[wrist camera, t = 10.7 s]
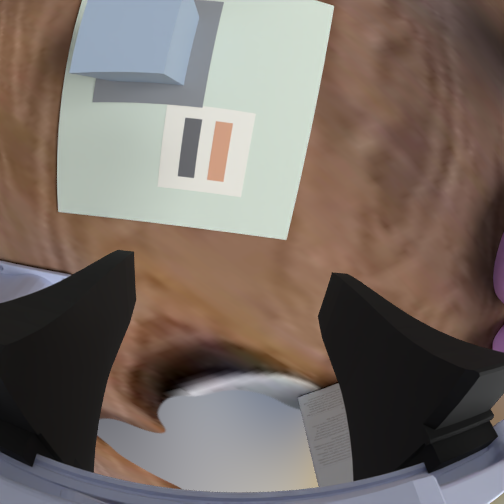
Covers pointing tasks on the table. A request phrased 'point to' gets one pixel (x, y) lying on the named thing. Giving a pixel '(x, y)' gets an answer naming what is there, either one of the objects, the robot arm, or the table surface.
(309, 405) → the skincare box
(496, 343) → the container set
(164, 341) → the table surface
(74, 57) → the blue-grey rectangular block
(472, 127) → the table surface
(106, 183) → the mat
